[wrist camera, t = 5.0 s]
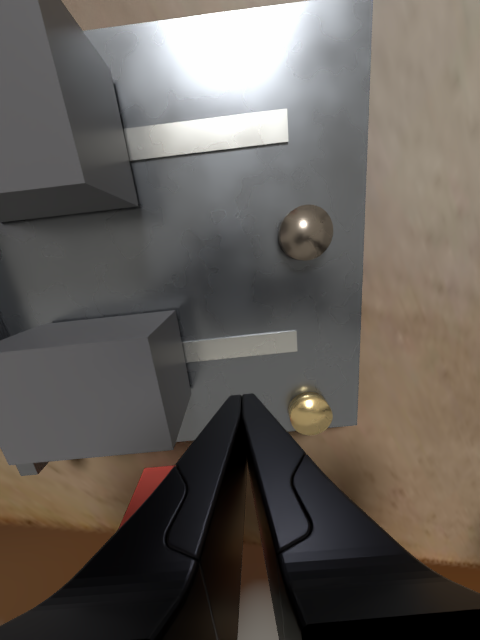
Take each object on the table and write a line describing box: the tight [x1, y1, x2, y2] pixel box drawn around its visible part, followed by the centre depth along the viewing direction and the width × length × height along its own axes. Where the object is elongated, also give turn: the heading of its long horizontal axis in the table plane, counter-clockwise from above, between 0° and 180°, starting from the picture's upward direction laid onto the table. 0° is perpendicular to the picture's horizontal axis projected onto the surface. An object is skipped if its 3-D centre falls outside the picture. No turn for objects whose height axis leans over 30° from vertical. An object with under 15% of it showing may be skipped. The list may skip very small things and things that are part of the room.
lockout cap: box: [118, 465, 176, 530], centre depth 17 cm, size 4×4×4 cm
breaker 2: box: [0, 310, 191, 465], centre depth 11 cm, size 7×5×4 cm
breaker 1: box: [0, 0, 139, 222], centre depth 8 cm, size 7×5×4 cm
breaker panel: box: [0, 0, 373, 476], centre depth 12 cm, size 20×20×4 cm
